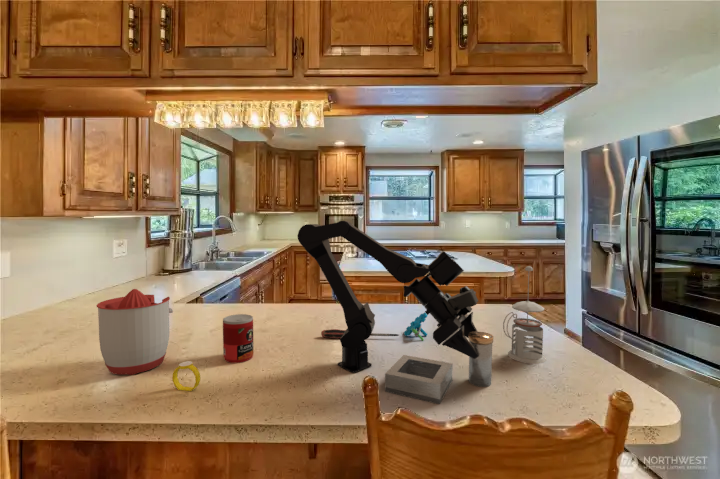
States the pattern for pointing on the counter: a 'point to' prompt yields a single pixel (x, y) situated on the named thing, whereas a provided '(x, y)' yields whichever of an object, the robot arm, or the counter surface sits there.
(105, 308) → the citrus juicer
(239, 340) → the canned food
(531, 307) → the french press
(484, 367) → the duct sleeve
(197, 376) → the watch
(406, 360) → the collar
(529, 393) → the counter surface
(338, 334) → the screwdriver
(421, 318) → the teal bumpy piece
